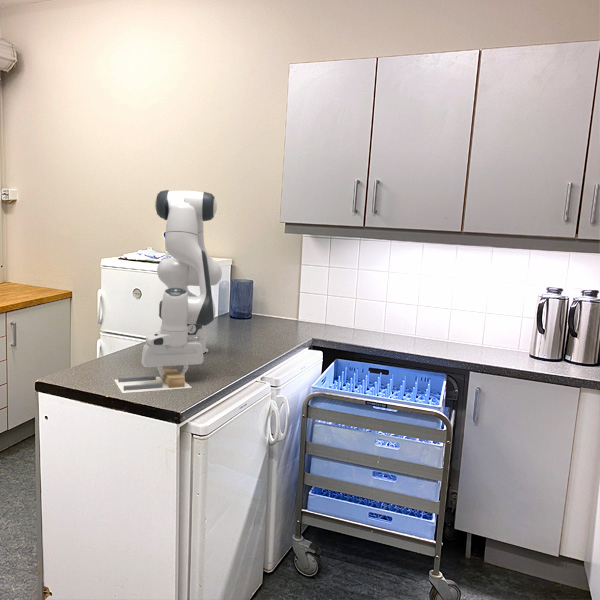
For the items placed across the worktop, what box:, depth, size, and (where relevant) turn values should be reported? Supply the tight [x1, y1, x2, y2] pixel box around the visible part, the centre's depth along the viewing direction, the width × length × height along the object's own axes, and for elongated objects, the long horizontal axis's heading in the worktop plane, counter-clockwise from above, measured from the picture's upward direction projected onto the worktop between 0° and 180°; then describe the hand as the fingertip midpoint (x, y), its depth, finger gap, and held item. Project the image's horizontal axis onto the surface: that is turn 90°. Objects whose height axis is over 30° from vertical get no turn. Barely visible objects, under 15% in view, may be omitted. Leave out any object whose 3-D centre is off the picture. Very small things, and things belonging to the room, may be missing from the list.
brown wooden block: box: [161, 367, 186, 388], centre depth 188 cm, size 12×5×3 cm, turn 28°
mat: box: [113, 375, 193, 394], centre depth 185 cm, size 15×22×2 cm
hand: (172, 378), depth 188 cm, fingers closed on brown wooden block, 5 cm apart
